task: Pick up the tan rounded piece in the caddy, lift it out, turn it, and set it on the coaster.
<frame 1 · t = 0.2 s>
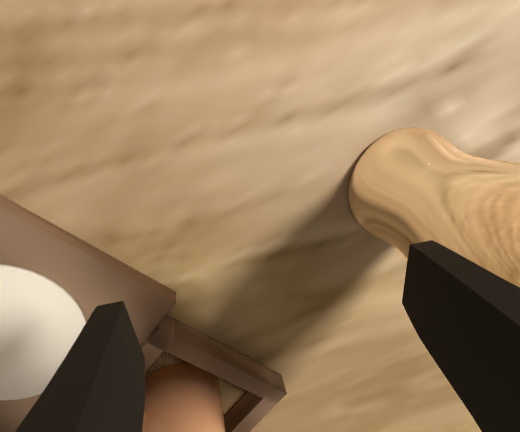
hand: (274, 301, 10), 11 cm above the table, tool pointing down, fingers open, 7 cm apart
caddy: (97, 360, 23), on the table
tan rounded piece: (179, 395, 25), resting in caddy
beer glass: (399, 183, 22), on the table
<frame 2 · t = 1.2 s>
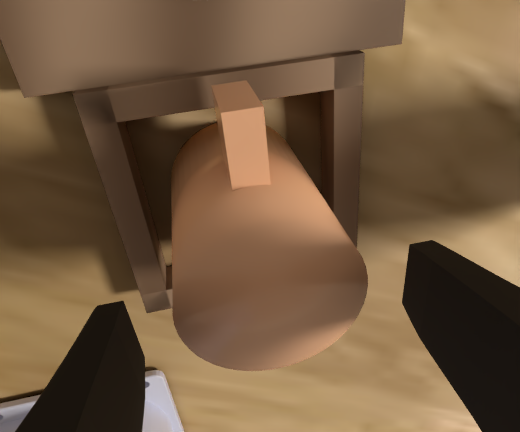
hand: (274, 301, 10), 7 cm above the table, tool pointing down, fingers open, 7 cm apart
caddy: (214, 30, 13), on the table
tan rounded piece: (235, 181, 16), resting in caddy
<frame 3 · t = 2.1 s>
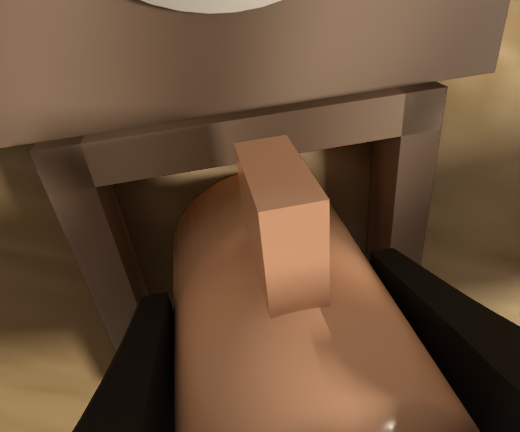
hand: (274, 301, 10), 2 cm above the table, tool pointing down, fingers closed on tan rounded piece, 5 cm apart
caddy: (234, 54, 9), on the table
tan rounded piece: (257, 245, 12), resting in caddy, touching gripper
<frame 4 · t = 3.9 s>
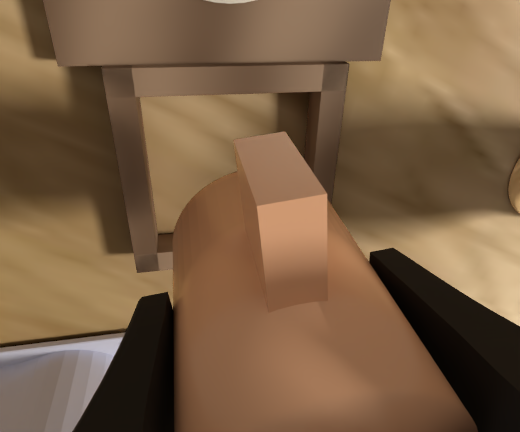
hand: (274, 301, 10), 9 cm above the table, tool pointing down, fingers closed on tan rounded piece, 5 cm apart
caddy: (226, 30, 16), on the table
tan rounded piece: (256, 243, 12), point 7 cm above the table, touching gripper
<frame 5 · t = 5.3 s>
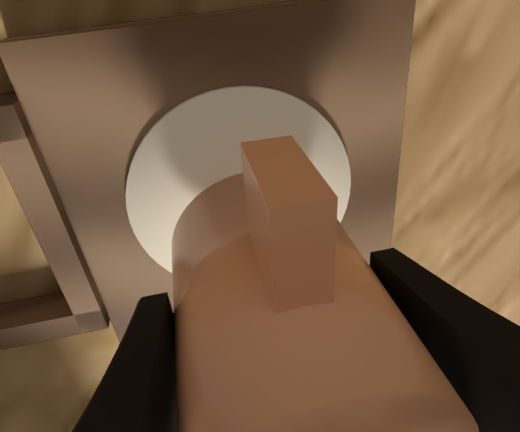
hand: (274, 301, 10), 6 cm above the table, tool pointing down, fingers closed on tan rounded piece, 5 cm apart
caddy: (105, 208, 15), on the table
tan rounded piece: (255, 245, 13), point 4 cm above the table, touching gripper
when the fingers open (5 cm above the table, at t = 6.0 s): tan rounded piece drops 1 cm, resting on caddy.
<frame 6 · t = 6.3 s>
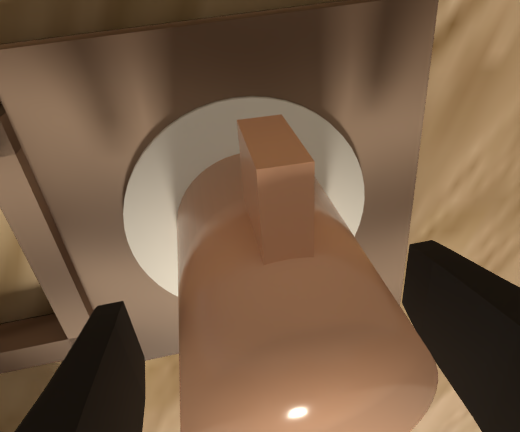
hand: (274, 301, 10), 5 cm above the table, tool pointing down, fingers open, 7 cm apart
caddy: (101, 225, 14), on the table
tan rounded piece: (253, 221, 14), point 1 cm above the table, touching caddy
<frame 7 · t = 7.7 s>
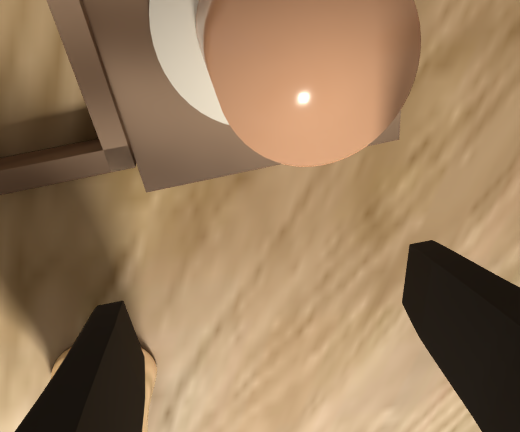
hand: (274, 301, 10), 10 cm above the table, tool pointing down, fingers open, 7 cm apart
caddy: (128, 43, 16), on the table
tan rounded piece: (262, 27, 15), point 1 cm above the table, touching caddy
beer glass: (106, 369, 25), on the table
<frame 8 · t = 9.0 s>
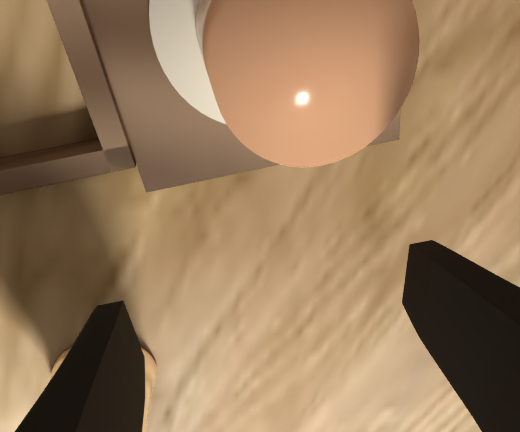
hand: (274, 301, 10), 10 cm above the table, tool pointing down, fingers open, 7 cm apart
caddy: (128, 43, 16), on the table
tan rounded piece: (262, 27, 15), point 1 cm above the table, touching caddy
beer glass: (106, 369, 25), on the table
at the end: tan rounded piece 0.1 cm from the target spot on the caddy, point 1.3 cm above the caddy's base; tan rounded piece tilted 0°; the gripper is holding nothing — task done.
